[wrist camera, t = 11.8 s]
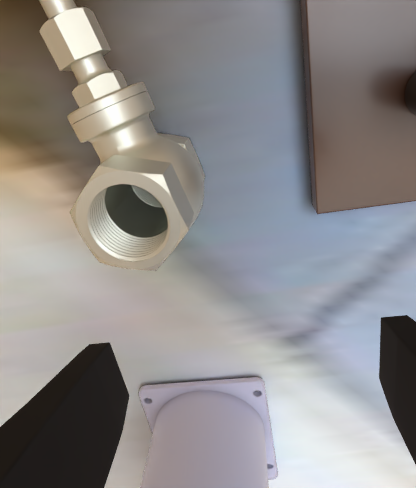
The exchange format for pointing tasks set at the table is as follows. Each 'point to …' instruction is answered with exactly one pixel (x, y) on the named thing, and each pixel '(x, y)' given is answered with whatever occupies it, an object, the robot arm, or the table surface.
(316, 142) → the ring stand
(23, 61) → the table surface
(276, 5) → the table surface
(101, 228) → the valve
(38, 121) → the table surface
